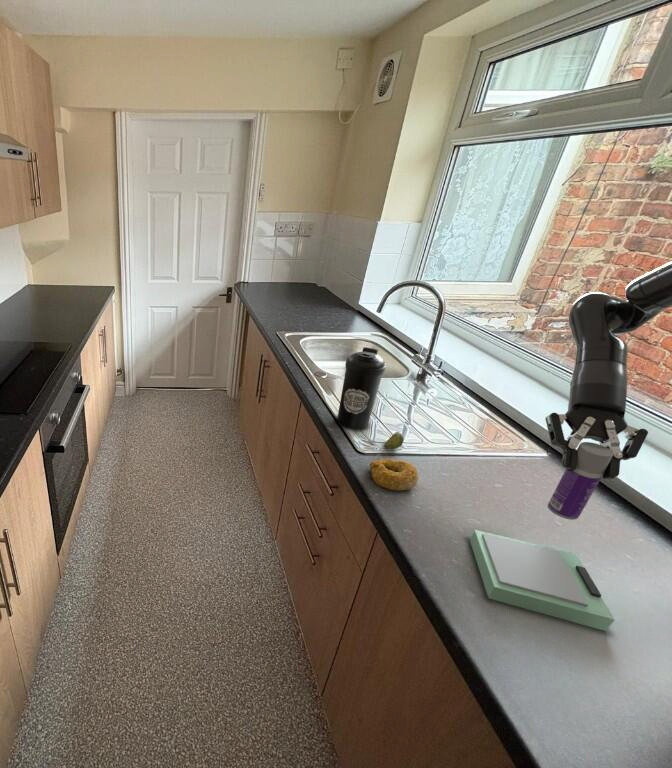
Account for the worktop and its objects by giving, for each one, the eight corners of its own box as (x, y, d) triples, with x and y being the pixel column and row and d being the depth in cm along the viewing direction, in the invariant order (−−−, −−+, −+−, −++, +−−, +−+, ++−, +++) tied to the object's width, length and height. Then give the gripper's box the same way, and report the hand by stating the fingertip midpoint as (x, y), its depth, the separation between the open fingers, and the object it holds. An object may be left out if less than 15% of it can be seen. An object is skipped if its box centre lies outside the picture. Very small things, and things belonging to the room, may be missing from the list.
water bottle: (330, 424, 124) (344, 353, 113) (338, 410, 131) (353, 342, 121) (366, 435, 119) (385, 361, 108) (373, 419, 126) (391, 349, 116)
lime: (384, 450, 112) (388, 435, 110) (381, 441, 116) (385, 426, 114) (402, 453, 111) (407, 438, 108) (399, 443, 115) (403, 428, 112)
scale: (568, 564, 79) (577, 551, 77) (606, 631, 67) (616, 617, 66) (469, 540, 84) (475, 527, 83) (488, 598, 73) (495, 584, 71)
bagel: (389, 462, 107) (394, 447, 105) (425, 489, 98) (431, 473, 96) (357, 469, 105) (361, 454, 103) (391, 498, 95) (396, 482, 93)
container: (578, 523, 79) (615, 460, 72) (546, 511, 82) (578, 449, 75) (579, 510, 82) (614, 448, 75) (548, 499, 85) (579, 438, 78)
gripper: (558, 374, 80) (548, 459, 76) (663, 390, 73) (658, 483, 69) (541, 387, 86) (531, 466, 82) (636, 403, 80) (630, 489, 76)
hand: (589, 473), depth 76 cm, fingers closed on container, 4 cm apart
